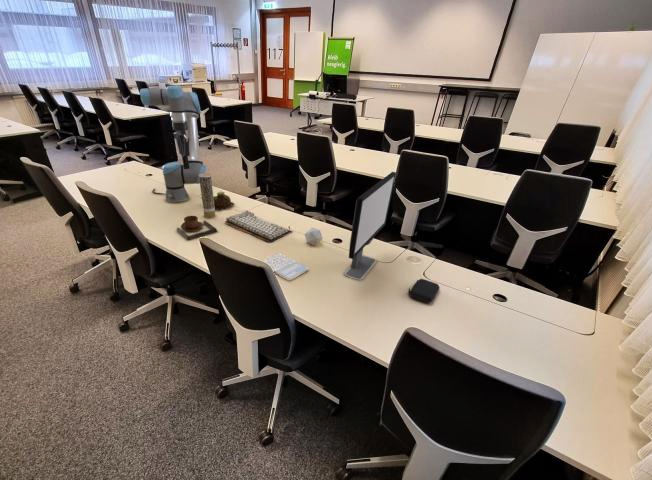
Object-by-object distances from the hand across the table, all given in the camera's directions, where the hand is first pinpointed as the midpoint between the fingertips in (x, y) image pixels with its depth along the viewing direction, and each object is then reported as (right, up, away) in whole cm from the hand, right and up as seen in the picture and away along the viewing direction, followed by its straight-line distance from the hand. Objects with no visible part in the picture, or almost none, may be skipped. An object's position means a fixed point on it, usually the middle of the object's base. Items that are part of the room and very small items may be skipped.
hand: (186, 168), depth 183 cm
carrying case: (+115, -70, -42) cm, 141 cm away
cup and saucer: (+2, -33, +4) cm, 33 cm away
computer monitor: (+92, -58, -26) cm, 111 cm away
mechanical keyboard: (+39, -32, +7) cm, 50 cm away
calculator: (+55, -58, -28) cm, 84 cm away
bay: (+5, -35, +1) cm, 35 cm away
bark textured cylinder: (+9, -22, +18) cm, 30 cm away
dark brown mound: (+13, -13, +31) cm, 36 cm away
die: (+70, -43, -7) cm, 82 cm away
